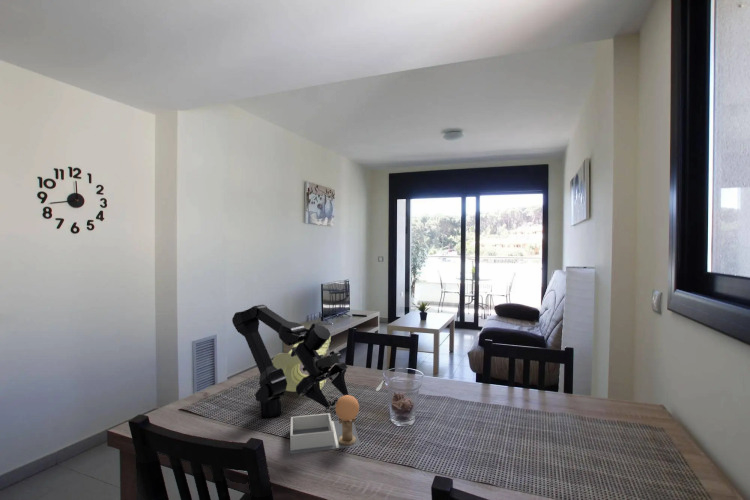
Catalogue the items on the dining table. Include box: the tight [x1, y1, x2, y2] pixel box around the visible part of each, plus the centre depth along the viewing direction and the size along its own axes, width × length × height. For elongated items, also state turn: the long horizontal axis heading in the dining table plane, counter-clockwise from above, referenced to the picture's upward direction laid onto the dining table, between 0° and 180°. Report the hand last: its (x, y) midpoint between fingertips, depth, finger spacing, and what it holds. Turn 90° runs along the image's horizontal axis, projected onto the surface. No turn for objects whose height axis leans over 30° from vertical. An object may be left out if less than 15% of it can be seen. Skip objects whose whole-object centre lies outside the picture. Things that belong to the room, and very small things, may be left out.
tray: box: [289, 412, 334, 451], centre depth 111 cm, size 12×12×4 cm
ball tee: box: [338, 417, 356, 445], centre depth 109 cm, size 5×5×7 cm
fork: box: [375, 380, 385, 392], centre depth 158 cm, size 3×24×2 cm, turn 163°
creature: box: [323, 395, 339, 412], centre depth 132 cm, size 8×5×8 cm
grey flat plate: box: [289, 420, 362, 455], centre depth 113 cm, size 20×17×1 cm
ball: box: [334, 394, 360, 421], centre depth 109 cm, size 7×7×7 cm
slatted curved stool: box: [272, 334, 332, 393], centre depth 155 cm, size 30×16×18 cm, turn 174°
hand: (338, 401), depth 111 cm, fingers open, 9 cm apart
